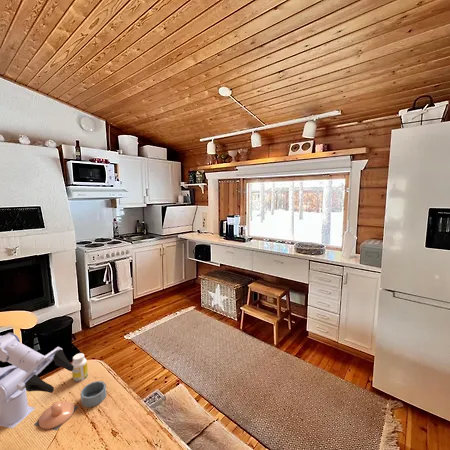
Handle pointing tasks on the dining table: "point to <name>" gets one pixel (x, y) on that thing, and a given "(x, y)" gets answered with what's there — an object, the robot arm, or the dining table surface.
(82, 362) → the supplement bottle
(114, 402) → the dining table surface
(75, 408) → the mat
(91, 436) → the dining table surface
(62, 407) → the lid
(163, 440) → the dining table surface
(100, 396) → the cup
